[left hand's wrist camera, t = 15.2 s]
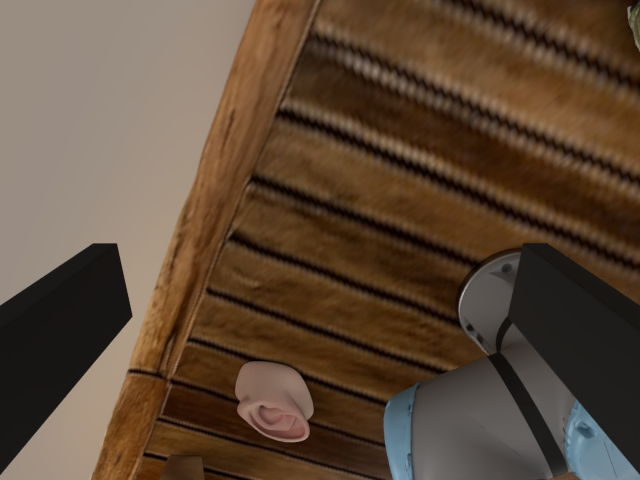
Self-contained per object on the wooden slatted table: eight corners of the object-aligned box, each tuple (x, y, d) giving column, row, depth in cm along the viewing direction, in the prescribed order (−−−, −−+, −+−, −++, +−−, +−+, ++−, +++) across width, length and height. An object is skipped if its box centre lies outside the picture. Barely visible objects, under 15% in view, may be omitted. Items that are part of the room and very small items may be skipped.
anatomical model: (221, 382, 52) (303, 374, 51) (227, 363, 56) (304, 355, 55) (241, 451, 57) (316, 444, 56) (245, 429, 60) (316, 422, 60)
